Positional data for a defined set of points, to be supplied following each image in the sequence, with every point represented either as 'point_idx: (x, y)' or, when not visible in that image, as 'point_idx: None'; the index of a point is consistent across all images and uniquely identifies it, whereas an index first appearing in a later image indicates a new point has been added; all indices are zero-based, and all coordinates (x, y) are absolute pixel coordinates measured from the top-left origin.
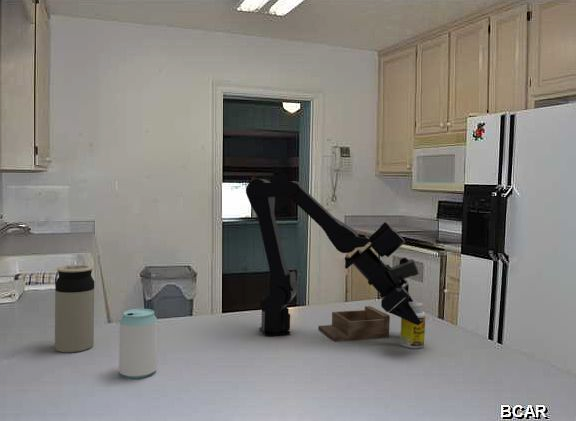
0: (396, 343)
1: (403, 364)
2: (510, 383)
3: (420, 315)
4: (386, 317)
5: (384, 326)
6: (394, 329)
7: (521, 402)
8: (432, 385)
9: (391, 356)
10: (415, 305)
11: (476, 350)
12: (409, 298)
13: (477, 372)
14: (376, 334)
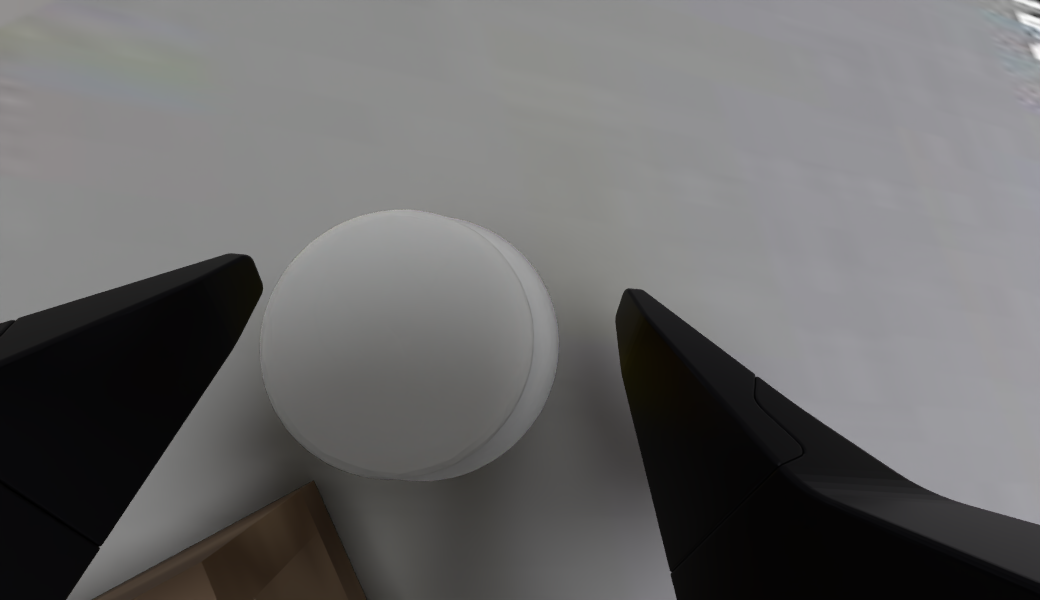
0: None
1: None
2: (853, 15)
3: (538, 276)
4: (227, 586)
5: (287, 554)
6: None
7: (1012, 35)
8: (983, 311)
9: None
10: (528, 325)
11: (466, 31)
12: (13, 386)
13: (775, 103)
14: (342, 583)
